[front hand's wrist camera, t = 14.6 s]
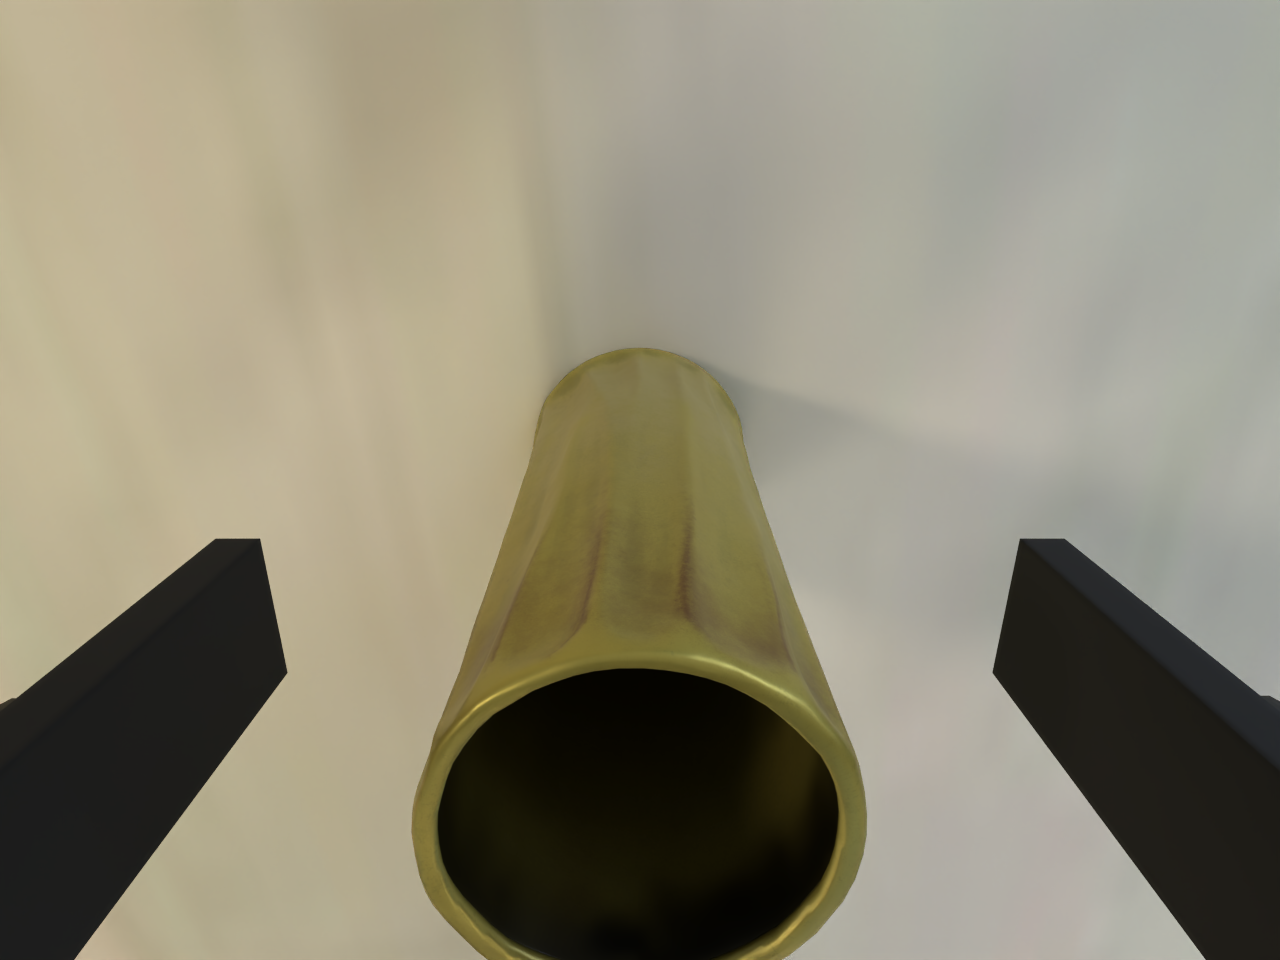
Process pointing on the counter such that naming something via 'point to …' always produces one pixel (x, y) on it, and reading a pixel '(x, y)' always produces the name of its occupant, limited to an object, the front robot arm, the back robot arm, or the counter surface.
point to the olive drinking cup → (639, 702)
